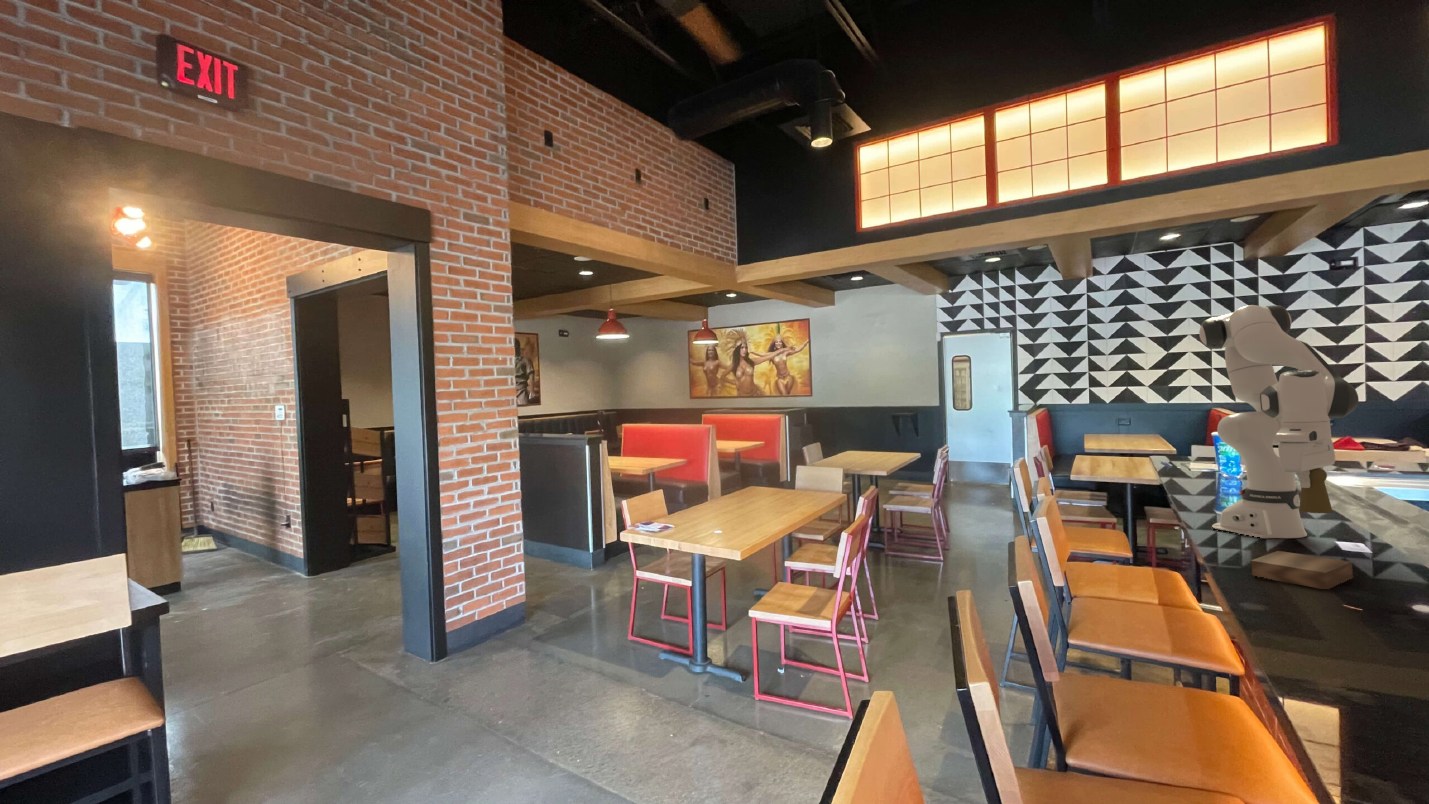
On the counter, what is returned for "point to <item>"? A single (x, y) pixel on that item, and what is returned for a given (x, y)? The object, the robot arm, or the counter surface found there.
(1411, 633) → the counter surface
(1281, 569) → the walnut riser block
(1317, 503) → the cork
